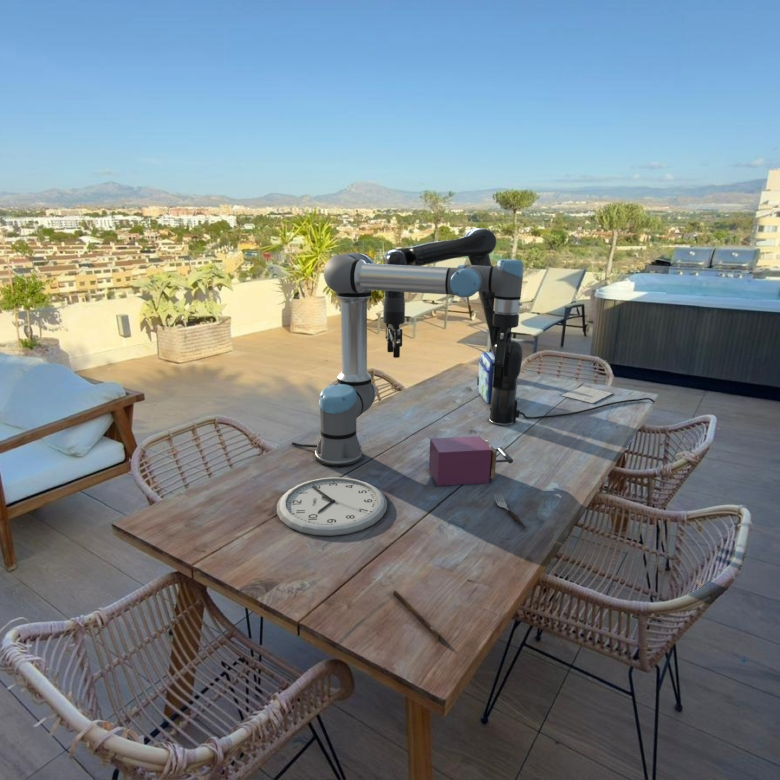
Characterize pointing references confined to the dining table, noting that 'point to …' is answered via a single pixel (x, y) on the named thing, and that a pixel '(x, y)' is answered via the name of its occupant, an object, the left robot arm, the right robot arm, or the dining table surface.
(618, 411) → the dining table surface
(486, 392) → the lunch box
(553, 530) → the dining table surface
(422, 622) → the brown thin rod
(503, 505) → the fork
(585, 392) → the invitation card
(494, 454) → the drawer
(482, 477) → the magenta rectangular box
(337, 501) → the wall clock
